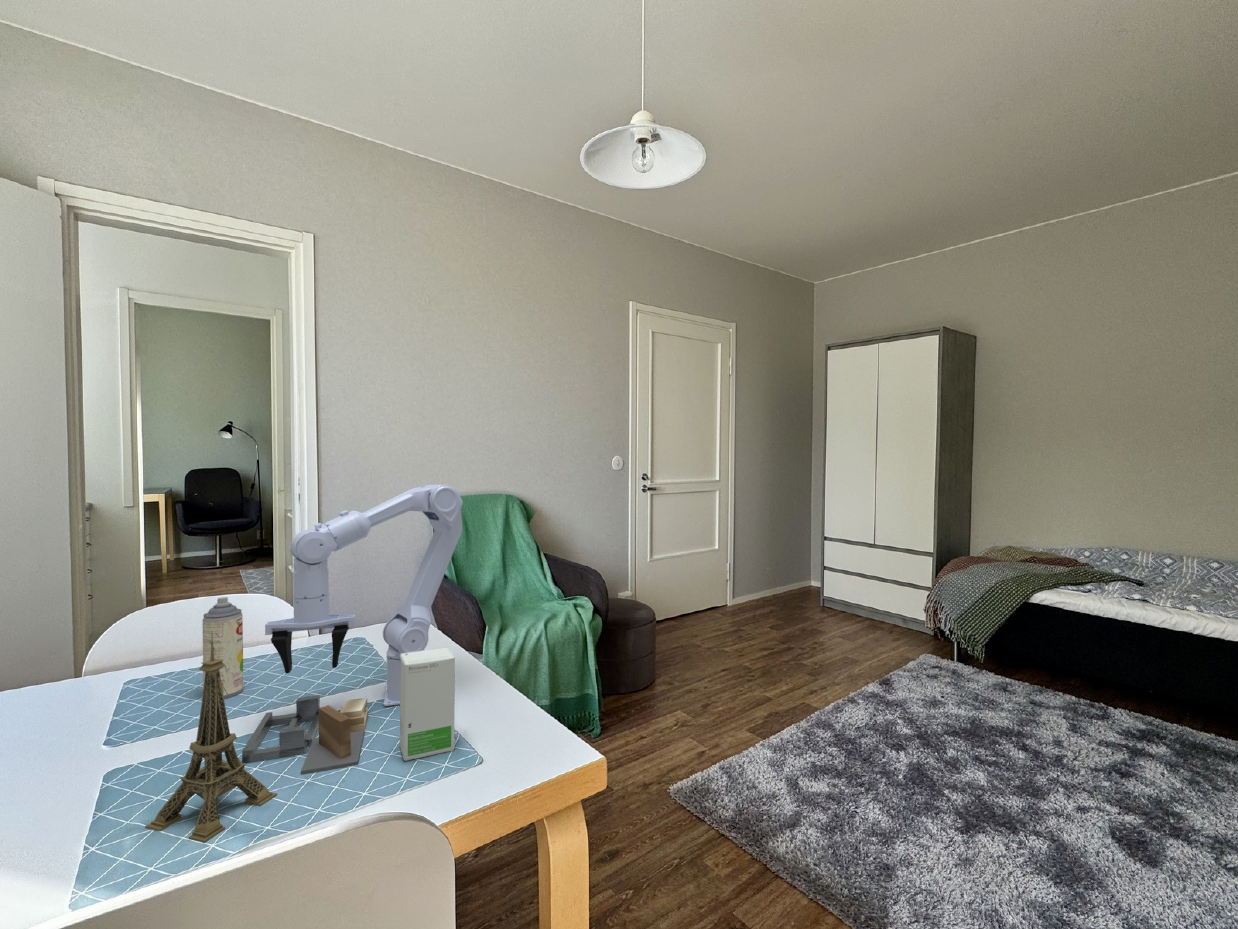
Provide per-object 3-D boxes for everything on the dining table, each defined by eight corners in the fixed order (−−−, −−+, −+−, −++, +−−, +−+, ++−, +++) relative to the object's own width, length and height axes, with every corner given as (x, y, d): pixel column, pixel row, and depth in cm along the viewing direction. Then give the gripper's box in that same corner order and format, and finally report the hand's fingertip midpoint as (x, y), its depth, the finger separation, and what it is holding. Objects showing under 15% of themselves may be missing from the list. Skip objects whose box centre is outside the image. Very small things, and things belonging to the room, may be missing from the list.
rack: (322, 715, 106) (322, 694, 106) (307, 753, 93) (307, 729, 93) (266, 723, 103) (266, 702, 103) (242, 763, 90) (241, 738, 90)
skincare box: (403, 763, 90) (402, 665, 89) (398, 744, 95) (397, 653, 95) (456, 750, 93) (456, 656, 93) (449, 733, 99) (448, 645, 99)
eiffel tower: (222, 784, 84) (220, 618, 84) (277, 795, 81) (275, 623, 81) (145, 828, 74) (142, 639, 74) (204, 843, 71) (201, 647, 71)
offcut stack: (368, 714, 107) (367, 696, 107) (364, 731, 100) (364, 712, 100) (341, 717, 106) (341, 699, 105) (336, 735, 99) (336, 716, 99)
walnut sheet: (328, 740, 96) (328, 705, 96) (350, 755, 91) (350, 718, 91) (318, 743, 95) (318, 708, 95) (340, 759, 90) (340, 721, 90)
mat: (364, 733, 99) (364, 730, 99) (357, 764, 89) (357, 761, 89) (313, 741, 97) (313, 738, 97) (300, 774, 86) (300, 771, 86)
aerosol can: (245, 694, 117) (244, 598, 116) (204, 703, 112) (203, 603, 112) (241, 684, 122) (240, 592, 122) (202, 692, 118) (201, 597, 117)
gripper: (356, 587, 110) (357, 656, 110) (271, 594, 105) (272, 666, 105) (352, 595, 103) (353, 669, 103) (261, 602, 98) (262, 680, 99)
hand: (312, 668), depth 104 cm, fingers open, 7 cm apart
